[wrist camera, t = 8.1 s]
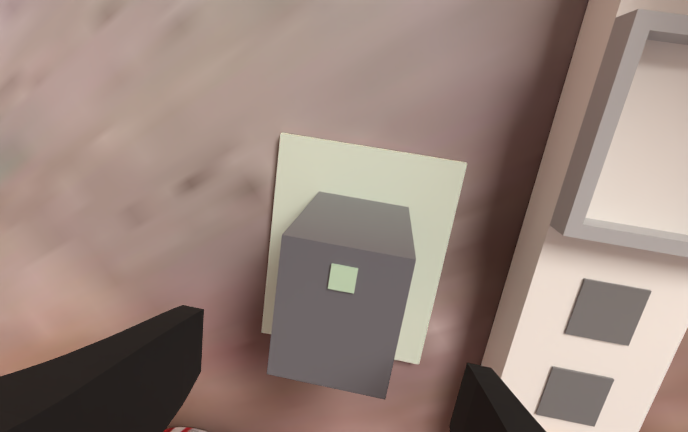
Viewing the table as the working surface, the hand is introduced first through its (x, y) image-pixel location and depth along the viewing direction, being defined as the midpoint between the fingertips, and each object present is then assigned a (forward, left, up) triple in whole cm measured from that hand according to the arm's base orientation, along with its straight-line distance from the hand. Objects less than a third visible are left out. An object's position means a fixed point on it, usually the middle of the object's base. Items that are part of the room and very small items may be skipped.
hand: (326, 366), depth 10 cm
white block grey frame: (+3, -10, -8) cm, 13 cm away
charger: (0, 0, -8) cm, 8 cm away
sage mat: (0, 0, -8) cm, 8 cm away
